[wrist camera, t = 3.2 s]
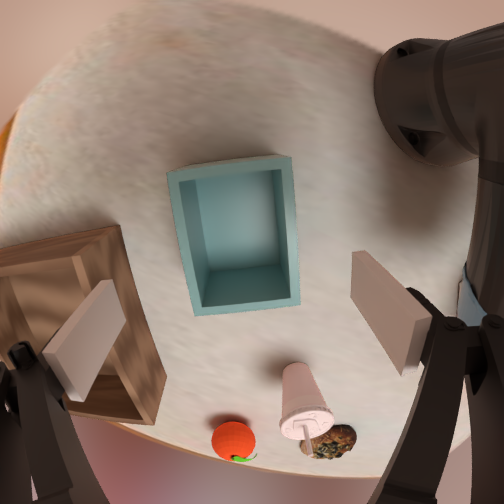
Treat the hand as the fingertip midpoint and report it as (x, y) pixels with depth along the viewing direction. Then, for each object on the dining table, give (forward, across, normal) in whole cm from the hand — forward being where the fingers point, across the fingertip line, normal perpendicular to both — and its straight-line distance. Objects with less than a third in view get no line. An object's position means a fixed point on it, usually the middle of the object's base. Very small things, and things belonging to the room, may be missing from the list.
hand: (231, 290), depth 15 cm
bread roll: (+16, +11, -43) cm, 47 cm away
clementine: (+16, -5, -34) cm, 38 cm away
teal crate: (+15, 0, 0) cm, 15 cm away
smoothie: (+16, +5, -22) cm, 27 cm away
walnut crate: (+16, -24, -10) cm, 30 cm away
